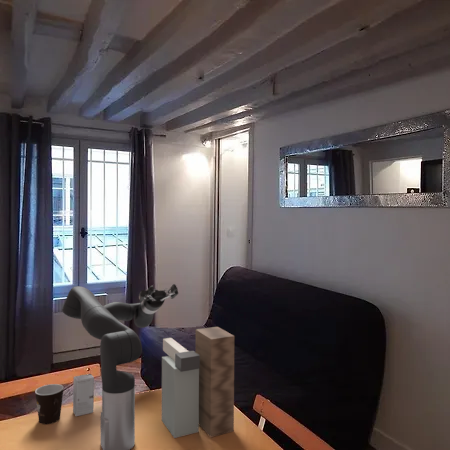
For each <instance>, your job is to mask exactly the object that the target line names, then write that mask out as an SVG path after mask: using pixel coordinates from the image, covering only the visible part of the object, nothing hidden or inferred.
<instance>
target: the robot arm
mask: <svg viewBox="0 0 450 450" xmlns="http://www.w3.org/2000/svg"><path fill="white" fill-rule="evenodd" d="M178 295H179V290H178V287H177V285H176V284H175V283H174V284H172V285H171V286H170V287H169V288H167V287H165V288H163V289H159V290H158V289H154V285H150V287H148V288H147V289H142V290H140V292H139V294H138V299H139V302H137V303H127V302H122V301H113V302H110V303H107V304H105V305H103V304H102V303H100V301H99V300H98V298H97V297H96V295H95V294H94V293H93V292H92V291H91V290H89V288H86V287H84V286H81V285H77V286H73V287H72V288H71V289H70V290H69V292H68V294H67V296H66V299H65V301H64V303H63V306H62V309H61V310H62V311H61V312H62V313H63V314H64V315H65V316H67V317H69V318H72V319H77V320H81V324H82V326H83V328H84V330H85V331H86V332H87V333H88V334H89V335H90V336H91V337H93V338H95V339H97V340H100V343H99V346H100V347H99V348H100V350H99V351H100V352H99V353H100V355H99V356H100V373H101V375H100V376H101V386H102V387H101V389H102V390H101V393H102V394H101V395H102V396H101V407H102V409H101V412H100V446H101V449H102V450H131V449H133V447H134V446H135V443H136V442H135V440H136V439H135V438H136V434H135V433H136V431H135V429H136V428H135V426H136V424H135V420H136V419H135V418H136V417H135V416H136V415H135V414H136V412H135V410H136V407H135V406H136V405H135V404H136V403H135V401H136V400H135V399H136V395H135V392H136V391H135V389H136V388H135V387H136V382H135V381H136V380H135V375H133V374H132V373H130V372H126V371H123V370H122V371H121V370H118V369H117V366H121V365H125V364H128V363H133V362H135V361H137V360H139V358H140V356H141V355H142V352H143V346H142V342H141V339H140V337H139V335H138V334H137V332H135V330H133V329H132V328H130V327H129V326H128V325H125V324H124V323H122V322H121V321H125V322H130V321H131V320H134V321H133V322H134V325H135V326H136V328H139V329H140V328H142V329H143V328H147V327H149V326H150V325H151V323H152V321H153V318H154V314H155V313H157V312H158V310H160V309H161V307H162V306H163V305H164V303H165V300H166V299H169V298H170V299H172V300H173V299H175V298H176V297H177V296H178Z"/></svg>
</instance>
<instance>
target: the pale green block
mask: <svg viewBox="0 0 450 450" xmlns="http://www.w3.org/2000/svg"><path fill="white" fill-rule="evenodd" d="M161 422H162V423H163V424H164V427H166V428H167V430H168V432H169V433H170V434H171V436H172V437H173V438H174V439H176V438H180V437H184V436H187V435H192V434H196V433H199V429H200V428H199V427H200V425H199V369H194V370H189V371H183V372H181V371H180V370H179V369H177V368H176V367H175V361H174V360H173V359H172V358H171V357H170V356H169V355H165V356H161Z"/></svg>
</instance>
